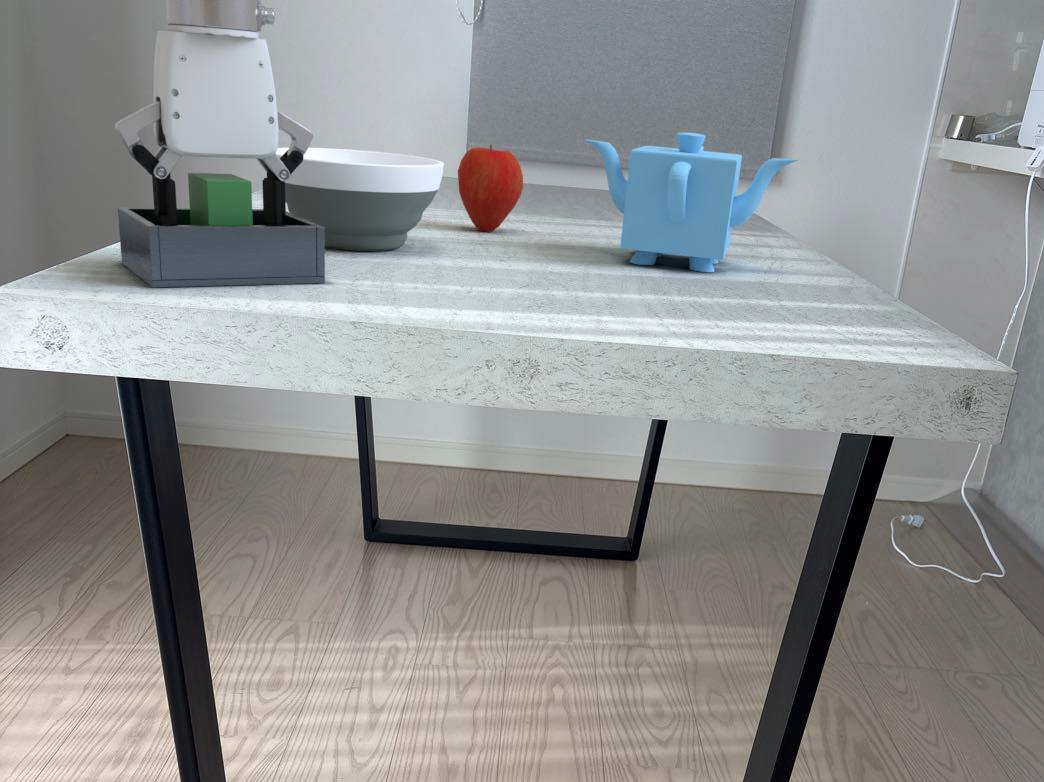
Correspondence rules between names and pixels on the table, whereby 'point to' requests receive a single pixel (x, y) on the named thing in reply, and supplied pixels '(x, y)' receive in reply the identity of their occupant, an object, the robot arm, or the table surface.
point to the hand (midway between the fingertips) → (222, 224)
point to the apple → (489, 186)
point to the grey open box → (221, 250)
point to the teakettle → (682, 199)
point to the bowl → (362, 195)
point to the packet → (219, 199)
